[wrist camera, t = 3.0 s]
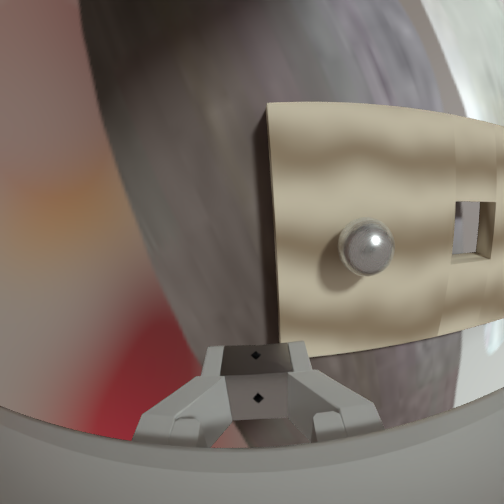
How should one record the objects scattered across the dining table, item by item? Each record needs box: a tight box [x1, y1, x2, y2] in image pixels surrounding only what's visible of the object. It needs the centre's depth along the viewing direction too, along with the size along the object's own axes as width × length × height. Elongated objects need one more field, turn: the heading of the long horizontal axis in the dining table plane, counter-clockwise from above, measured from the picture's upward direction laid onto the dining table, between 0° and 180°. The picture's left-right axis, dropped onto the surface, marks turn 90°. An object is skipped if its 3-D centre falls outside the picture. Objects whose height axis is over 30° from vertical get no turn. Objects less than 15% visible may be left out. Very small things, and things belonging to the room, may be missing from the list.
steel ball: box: [338, 217, 395, 276], centre depth 19 cm, size 4×4×4 cm
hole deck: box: [266, 102, 504, 357], centre depth 22 cm, size 20×26×2 cm
